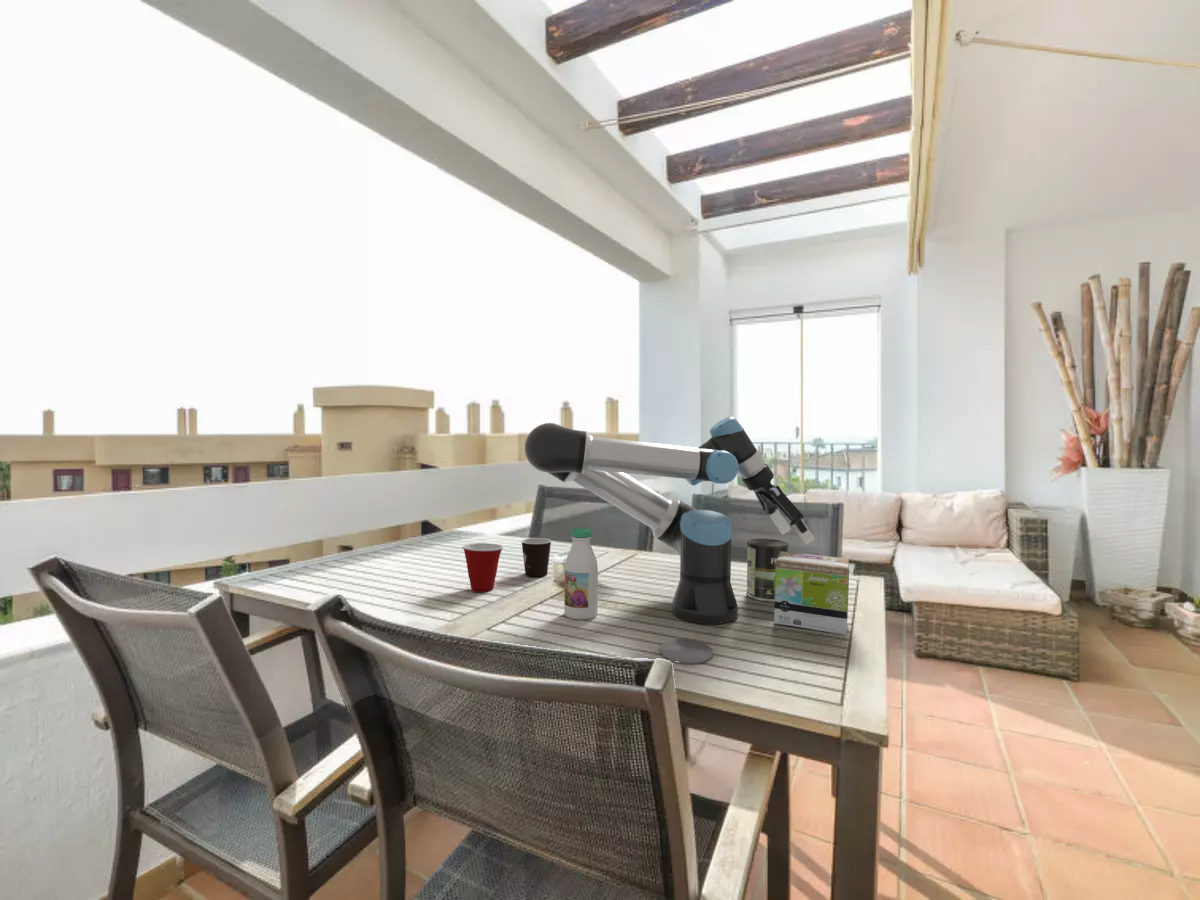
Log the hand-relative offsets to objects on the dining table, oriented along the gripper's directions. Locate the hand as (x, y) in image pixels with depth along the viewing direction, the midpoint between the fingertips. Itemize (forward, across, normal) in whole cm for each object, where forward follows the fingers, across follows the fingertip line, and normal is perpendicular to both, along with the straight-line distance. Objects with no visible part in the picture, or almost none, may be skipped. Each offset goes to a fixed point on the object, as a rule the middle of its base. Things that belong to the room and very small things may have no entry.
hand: (797, 536), depth 143 cm
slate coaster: (-10, -35, +40) cm, 55 cm away
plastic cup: (-36, +10, +76) cm, 85 cm away
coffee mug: (-27, +25, +65) cm, 75 cm away
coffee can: (+8, -1, +16) cm, 18 cm away
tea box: (+9, -21, +14) cm, 27 cm away
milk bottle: (-21, -12, +56) cm, 61 cm away
